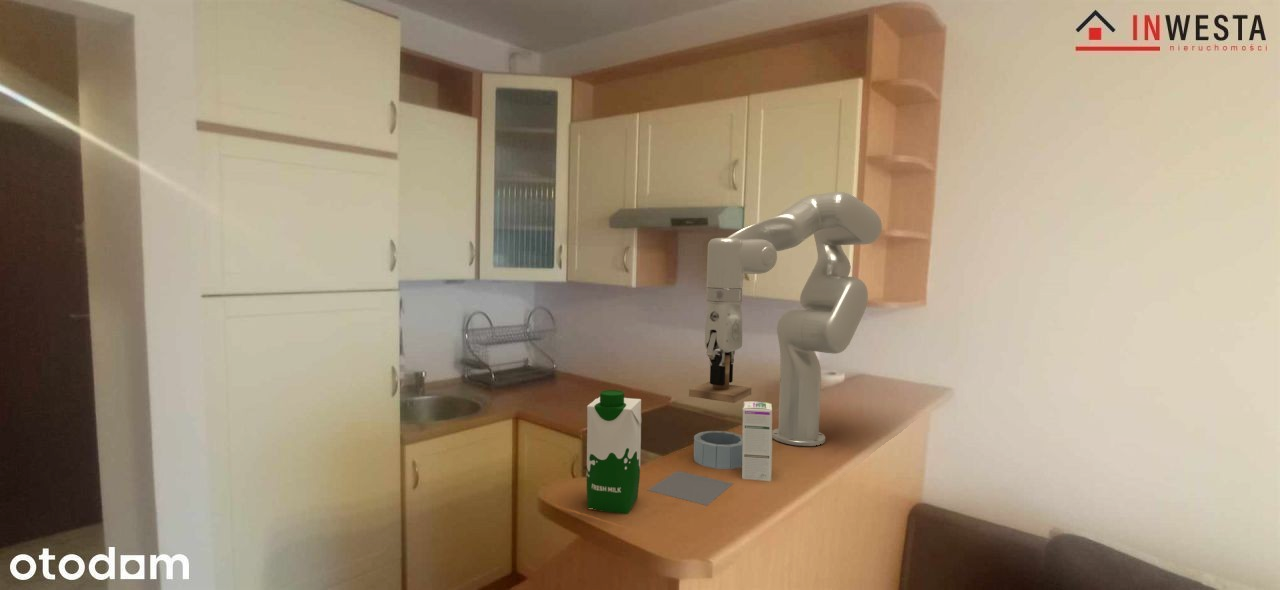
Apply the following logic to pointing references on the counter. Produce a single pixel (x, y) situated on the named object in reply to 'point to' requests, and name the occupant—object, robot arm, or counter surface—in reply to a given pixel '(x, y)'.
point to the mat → (691, 487)
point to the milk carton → (613, 452)
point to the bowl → (718, 449)
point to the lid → (721, 389)
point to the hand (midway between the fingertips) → (721, 382)
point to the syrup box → (757, 441)
